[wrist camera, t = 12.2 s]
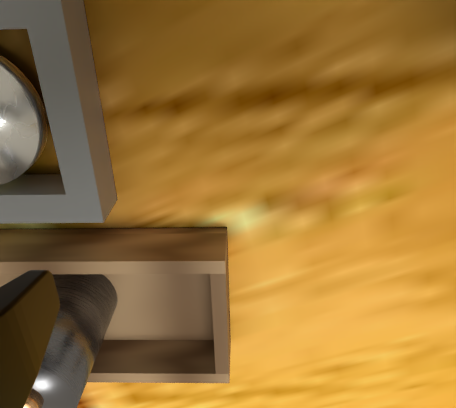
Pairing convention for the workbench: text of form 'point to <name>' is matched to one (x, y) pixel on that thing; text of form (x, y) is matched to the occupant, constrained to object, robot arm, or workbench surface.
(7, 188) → the checker frame
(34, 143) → the silver metal disc
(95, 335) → the cell
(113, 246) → the trough
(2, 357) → the robot arm
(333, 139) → the workbench surface
